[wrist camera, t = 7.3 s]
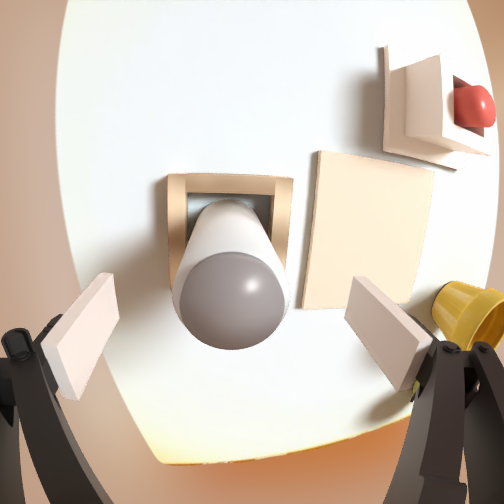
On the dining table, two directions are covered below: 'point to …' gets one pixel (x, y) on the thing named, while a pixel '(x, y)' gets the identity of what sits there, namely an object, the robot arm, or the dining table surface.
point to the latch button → (473, 107)
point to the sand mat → (365, 228)
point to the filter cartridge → (230, 279)
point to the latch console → (428, 110)
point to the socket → (226, 183)
